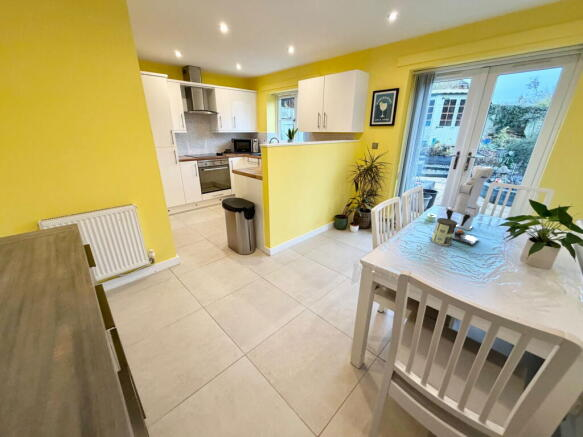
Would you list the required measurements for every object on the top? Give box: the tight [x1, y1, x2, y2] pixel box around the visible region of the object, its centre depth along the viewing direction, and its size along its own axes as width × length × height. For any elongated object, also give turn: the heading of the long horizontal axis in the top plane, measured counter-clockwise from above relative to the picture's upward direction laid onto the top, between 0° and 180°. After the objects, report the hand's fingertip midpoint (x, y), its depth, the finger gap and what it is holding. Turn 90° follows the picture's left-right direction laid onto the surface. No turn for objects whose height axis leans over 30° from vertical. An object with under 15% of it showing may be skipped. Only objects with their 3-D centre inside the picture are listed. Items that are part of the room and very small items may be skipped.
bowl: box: [426, 213, 437, 223], centre depth 173 cm, size 5×5×4 cm
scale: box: [451, 229, 479, 247], centre depth 145 cm, size 13×13×3 cm
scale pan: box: [461, 234, 476, 241], centre depth 141 cm, size 8×8×1 cm
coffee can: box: [431, 217, 458, 246], centre depth 139 cm, size 10×10×14 cm
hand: (455, 223), depth 144 cm, fingers open, 7 cm apart
